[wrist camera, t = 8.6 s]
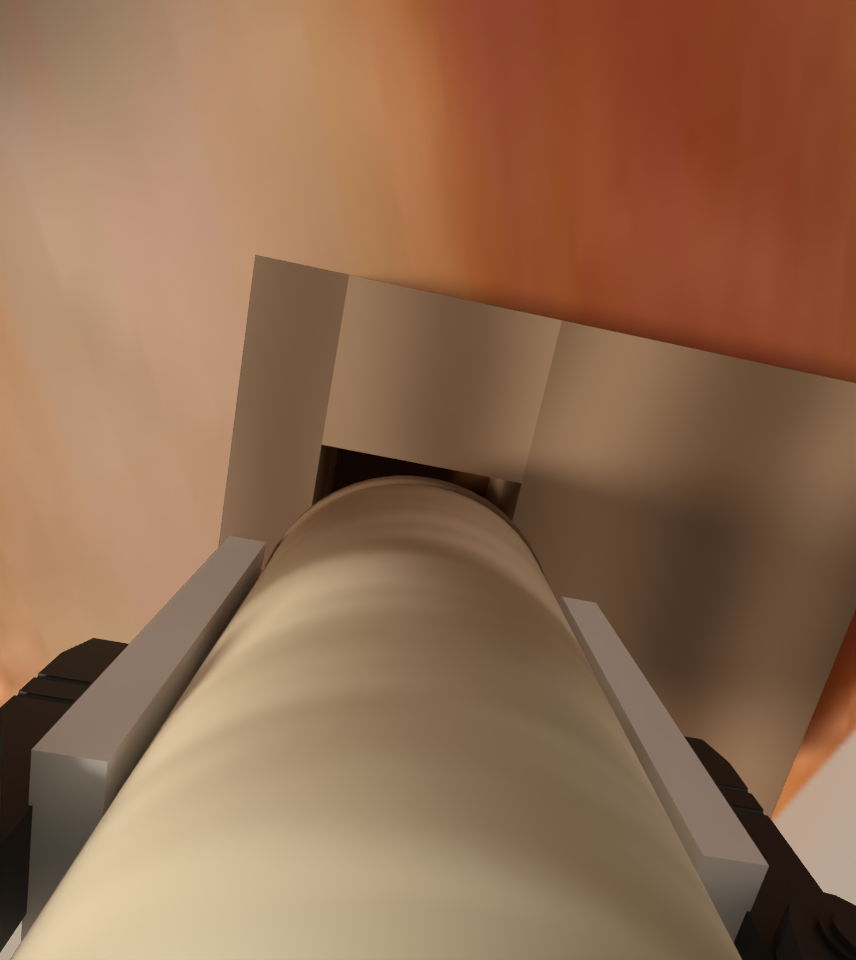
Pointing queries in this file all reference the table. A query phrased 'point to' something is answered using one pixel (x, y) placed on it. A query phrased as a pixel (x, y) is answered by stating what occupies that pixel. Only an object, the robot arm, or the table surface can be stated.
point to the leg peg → (388, 770)
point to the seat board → (584, 479)
